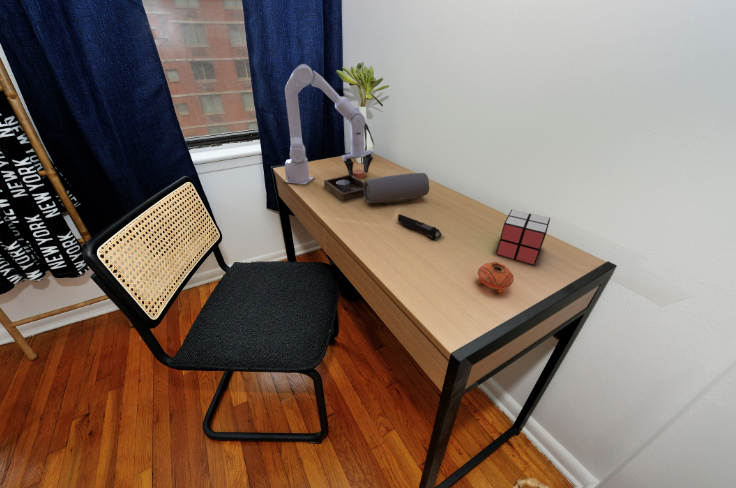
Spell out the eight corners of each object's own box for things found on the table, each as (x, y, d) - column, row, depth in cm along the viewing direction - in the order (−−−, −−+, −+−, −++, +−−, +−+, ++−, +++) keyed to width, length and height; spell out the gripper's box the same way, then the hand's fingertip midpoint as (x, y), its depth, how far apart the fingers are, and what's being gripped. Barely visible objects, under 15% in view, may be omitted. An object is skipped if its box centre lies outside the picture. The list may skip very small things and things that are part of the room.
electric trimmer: (402, 220, 103) (402, 211, 101) (441, 236, 94) (443, 227, 92) (395, 224, 101) (395, 215, 99) (434, 241, 92) (435, 232, 90)
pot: (482, 269, 79) (494, 250, 75) (509, 289, 76) (523, 270, 71) (466, 282, 74) (477, 263, 70) (494, 304, 71) (508, 285, 66)
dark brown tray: (324, 188, 126) (323, 180, 125) (351, 182, 132) (351, 174, 130) (343, 202, 114) (342, 194, 113) (372, 195, 120) (372, 187, 118)
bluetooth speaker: (417, 192, 122) (419, 168, 116) (428, 202, 114) (431, 176, 109) (363, 200, 116) (362, 174, 111) (370, 210, 109) (370, 184, 103)
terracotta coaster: (350, 178, 136) (350, 172, 134) (355, 174, 140) (354, 168, 139) (362, 179, 134) (362, 174, 133) (366, 175, 139) (366, 170, 137)
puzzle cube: (534, 265, 81) (546, 233, 76) (495, 254, 85) (503, 223, 80) (539, 248, 88) (550, 217, 83) (503, 238, 93) (511, 208, 87)
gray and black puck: (334, 189, 124) (334, 183, 123) (339, 184, 128) (339, 179, 127) (347, 191, 123) (346, 185, 121) (352, 186, 127) (351, 180, 126)
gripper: (347, 147, 123) (348, 180, 130) (377, 142, 129) (377, 173, 137) (338, 143, 128) (340, 175, 135) (368, 138, 134) (368, 169, 142)
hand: (358, 174), depth 136 cm, fingers open, 7 cm apart
